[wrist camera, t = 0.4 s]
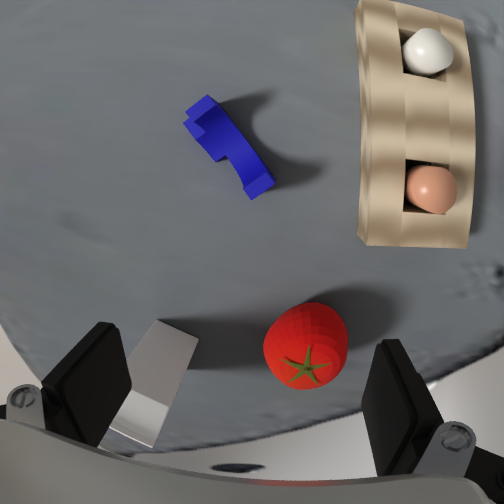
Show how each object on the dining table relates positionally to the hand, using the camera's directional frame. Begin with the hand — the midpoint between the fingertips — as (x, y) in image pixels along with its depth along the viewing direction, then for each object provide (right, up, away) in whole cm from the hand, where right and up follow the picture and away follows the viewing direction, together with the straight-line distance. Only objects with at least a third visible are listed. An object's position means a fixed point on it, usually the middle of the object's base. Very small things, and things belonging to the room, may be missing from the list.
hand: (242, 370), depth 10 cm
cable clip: (-2, +16, +27) cm, 32 cm away
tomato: (+8, -6, +33) cm, 34 cm away
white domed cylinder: (+20, +27, +17) cm, 38 cm away
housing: (+21, +20, +23) cm, 37 cm away
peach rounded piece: (+20, +12, +22) cm, 32 cm away
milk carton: (-12, -10, +36) cm, 39 cm away
